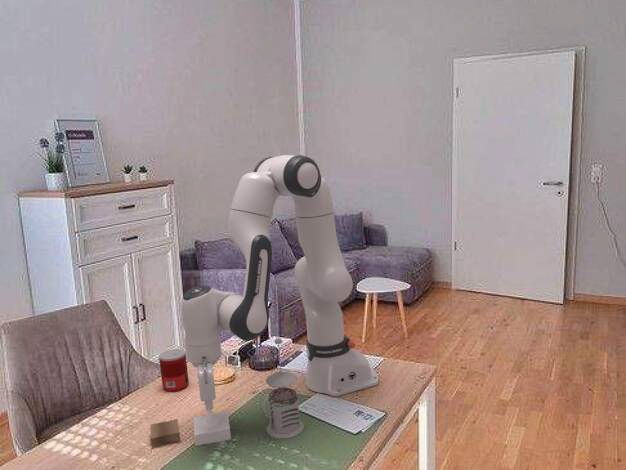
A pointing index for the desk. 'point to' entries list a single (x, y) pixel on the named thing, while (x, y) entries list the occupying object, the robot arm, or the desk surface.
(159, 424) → the walnut block
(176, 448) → the desk surface
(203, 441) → the light block
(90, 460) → the desk surface
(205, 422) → the chess piece
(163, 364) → the canned food
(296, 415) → the french press
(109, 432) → the desk surface
